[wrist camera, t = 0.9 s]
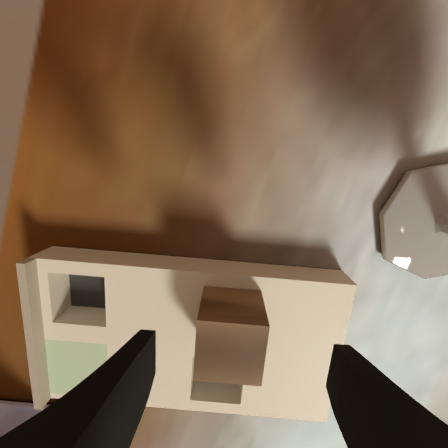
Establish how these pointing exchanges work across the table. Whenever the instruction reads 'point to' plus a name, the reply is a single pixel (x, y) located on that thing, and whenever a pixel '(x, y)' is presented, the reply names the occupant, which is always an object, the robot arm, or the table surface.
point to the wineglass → (417, 222)
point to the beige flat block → (180, 326)
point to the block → (231, 336)
